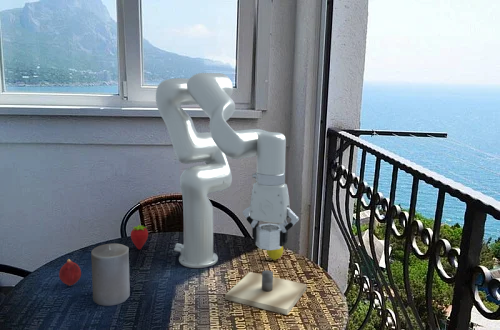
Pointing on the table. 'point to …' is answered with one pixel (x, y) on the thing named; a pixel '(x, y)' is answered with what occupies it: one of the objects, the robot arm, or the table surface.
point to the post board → (267, 292)
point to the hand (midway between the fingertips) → (269, 242)
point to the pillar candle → (110, 274)
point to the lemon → (275, 253)
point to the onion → (70, 273)
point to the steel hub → (268, 236)
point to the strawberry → (139, 236)
